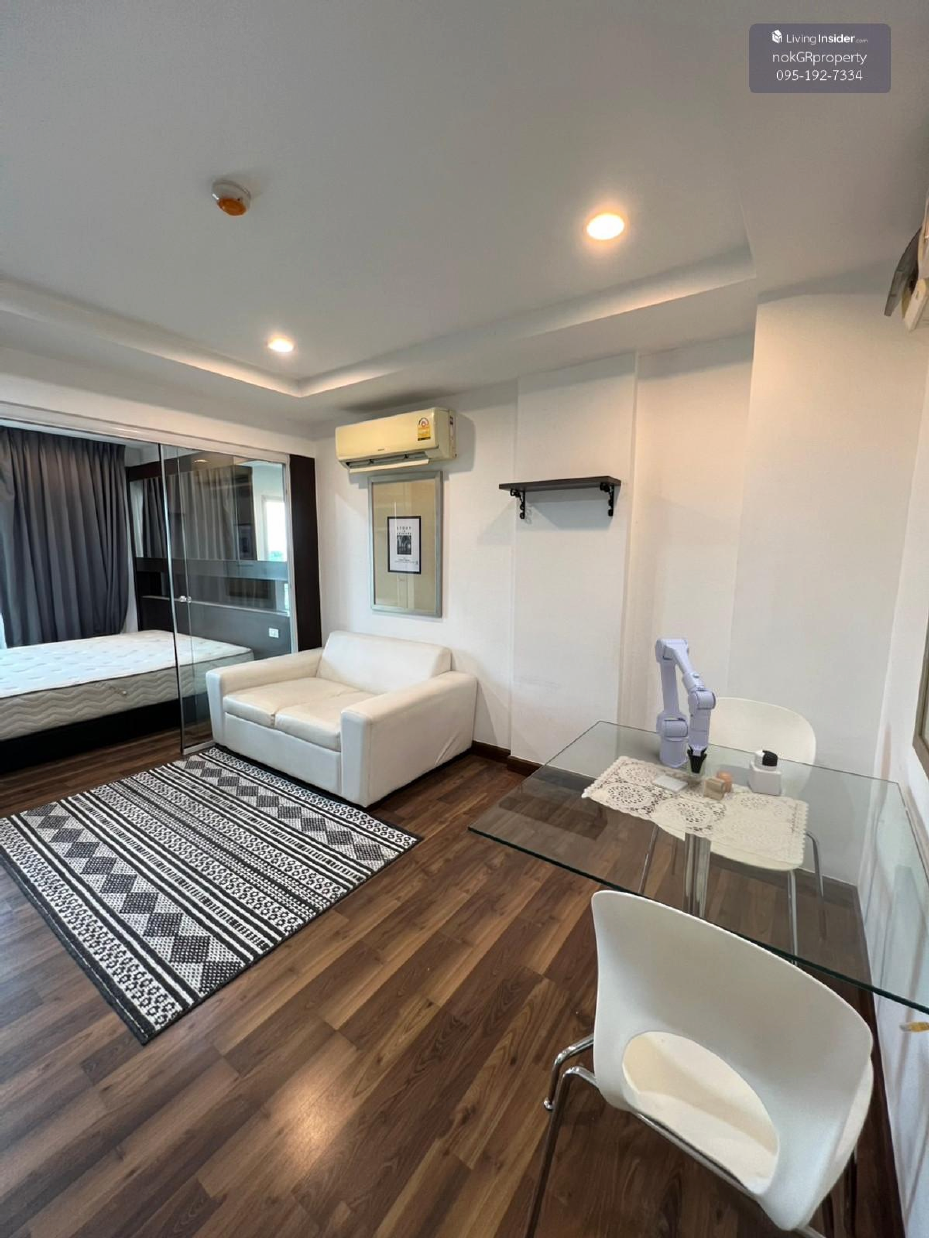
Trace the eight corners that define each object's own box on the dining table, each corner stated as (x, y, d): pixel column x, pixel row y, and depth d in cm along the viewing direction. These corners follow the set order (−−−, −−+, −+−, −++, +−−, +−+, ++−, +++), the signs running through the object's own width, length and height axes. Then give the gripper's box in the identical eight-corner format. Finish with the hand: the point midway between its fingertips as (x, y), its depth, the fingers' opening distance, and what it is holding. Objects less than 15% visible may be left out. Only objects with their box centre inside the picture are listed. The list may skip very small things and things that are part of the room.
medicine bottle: (773, 785, 153) (776, 749, 152) (779, 796, 146) (783, 758, 145) (747, 782, 155) (750, 746, 154) (752, 792, 149) (756, 755, 147)
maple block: (710, 791, 149) (711, 776, 148) (724, 796, 146) (725, 781, 145) (705, 796, 146) (706, 780, 145) (719, 801, 143) (720, 785, 142)
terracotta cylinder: (718, 784, 154) (719, 769, 153) (733, 789, 150) (734, 774, 150) (713, 788, 151) (714, 773, 150) (728, 793, 147) (729, 778, 147)
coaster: (663, 776, 159) (663, 774, 158) (687, 785, 153) (687, 783, 153) (651, 783, 153) (651, 782, 153) (676, 793, 147) (676, 791, 147)
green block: (691, 770, 156) (693, 752, 156) (704, 774, 154) (705, 756, 153) (686, 773, 154) (687, 755, 153) (699, 778, 151) (700, 759, 150)
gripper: (686, 719, 160) (683, 758, 162) (683, 733, 147) (680, 775, 149) (710, 722, 157) (707, 762, 158) (709, 737, 144) (705, 780, 146)
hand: (695, 769), depth 153 cm, fingers closed on green block, 5 cm apart
